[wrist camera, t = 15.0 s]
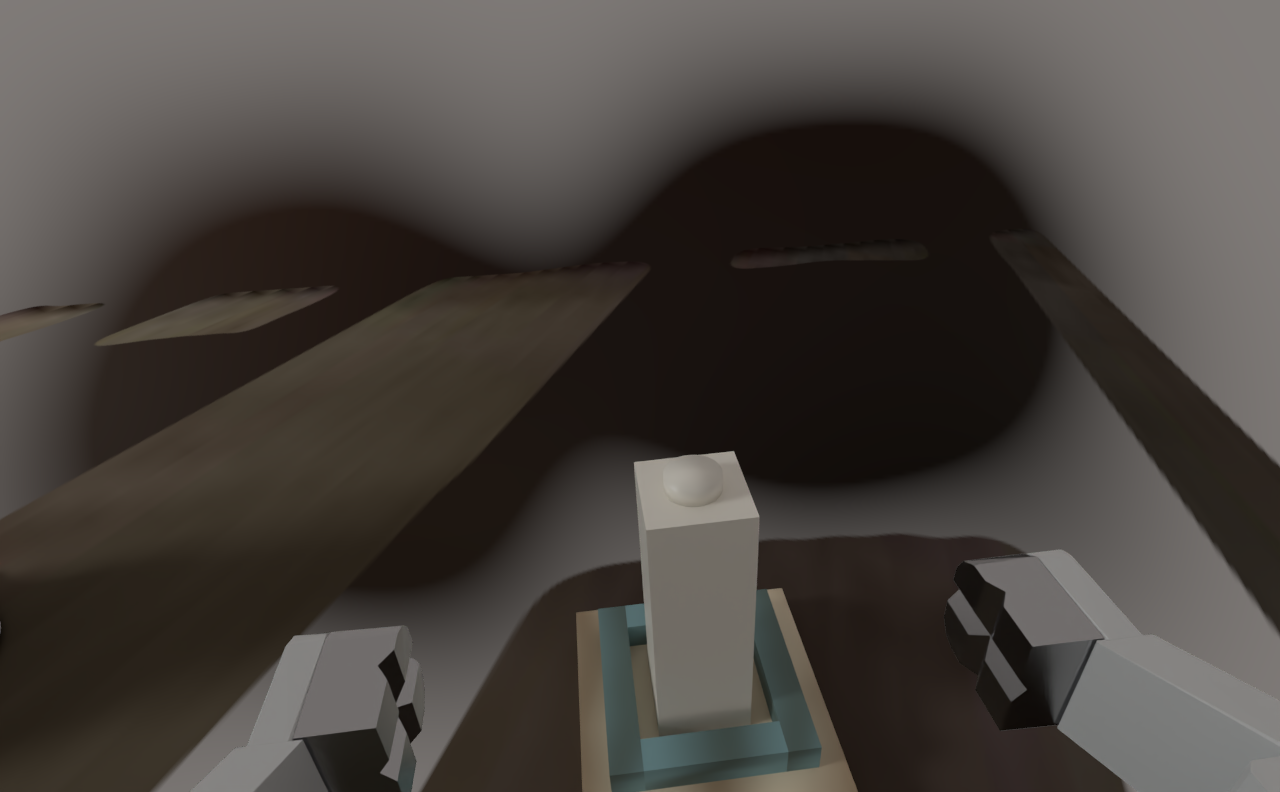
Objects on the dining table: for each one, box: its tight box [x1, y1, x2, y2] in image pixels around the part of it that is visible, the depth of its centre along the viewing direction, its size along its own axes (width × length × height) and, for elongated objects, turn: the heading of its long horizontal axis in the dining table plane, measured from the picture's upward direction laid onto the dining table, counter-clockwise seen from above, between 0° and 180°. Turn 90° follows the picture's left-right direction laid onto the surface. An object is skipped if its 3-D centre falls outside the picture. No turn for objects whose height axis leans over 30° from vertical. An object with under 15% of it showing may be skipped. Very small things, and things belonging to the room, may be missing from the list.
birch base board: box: [576, 588, 858, 792], centre depth 36 cm, size 12×12×4 cm
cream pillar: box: [634, 451, 760, 737], centre depth 32 cm, size 4×4×14 cm
